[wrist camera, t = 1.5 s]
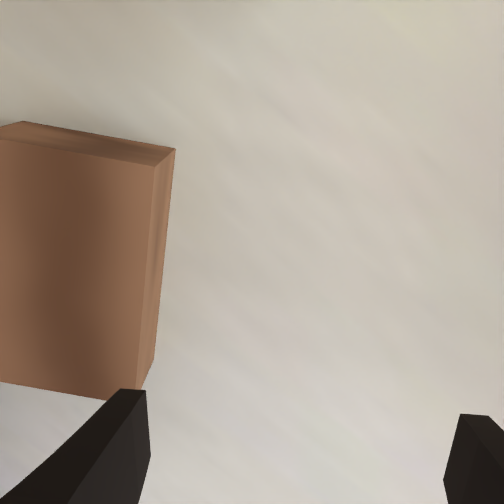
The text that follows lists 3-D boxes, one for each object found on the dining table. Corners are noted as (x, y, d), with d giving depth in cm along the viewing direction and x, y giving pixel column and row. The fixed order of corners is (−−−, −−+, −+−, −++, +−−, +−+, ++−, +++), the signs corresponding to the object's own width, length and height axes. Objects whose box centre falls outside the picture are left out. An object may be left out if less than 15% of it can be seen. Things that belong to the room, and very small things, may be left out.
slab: (31, 332, 23) (-11, 379, 19) (27, 120, 19) (-27, 133, 15) (155, 355, 23) (133, 405, 19) (177, 147, 19) (154, 166, 16)
